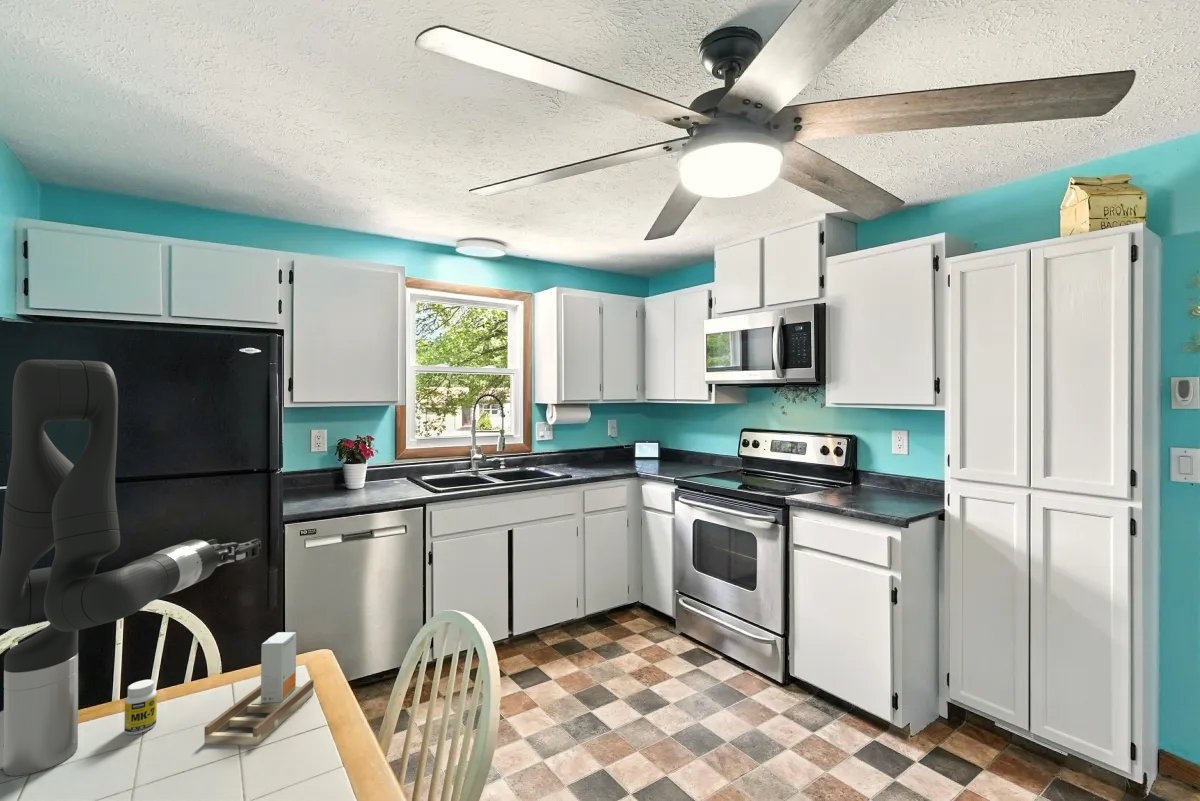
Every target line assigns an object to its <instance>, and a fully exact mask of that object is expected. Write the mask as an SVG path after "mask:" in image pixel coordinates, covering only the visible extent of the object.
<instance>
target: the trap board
mask: <svg viewBox="0 0 1200 801" xmlns="http://www.w3.org/2000/svg"><path fill="white" fill-rule="evenodd" d="M313 695H314V679H309V680H308V681H307V682H305V683H304V684H303V685H302V686H296V688H295V689H294V690H293V691H292V692H291V693H290V694H289V695H288V696H287V697H286V698H285V699H284V700H283V701H282V702H273V703H261V684H260V685H258V686H257V687H256V688H254V689H253V690H252V691H250V692H249V693H248V694H246V695H245V696H244V697H243V698H241V699H240V700H238V701H237V702H236V703H234V704H233V705H232V706H230V707H229V708H228V709H227V710H225V711H224V712H222V713H221V714H220V715H218V716H217V717H216V718H214V719H213V720H212V721H210V722H209V723H207V725H205V726H204V744H210V745H211V744H214V745H215V744H216V745H243V746H257V745H259V744H260V743H261V742H262V741H263V740H265V739H266V738H267V737H268V736H269V735H270V734H271V733H272V732H273V731H275V729H277V728H278V727H279V726H280V725H282V723H283V722H284V721H286V720H287V719H288V718H289V717H290V716H291V715H292V714H294V712H296V711H297V710H298V709H299V708H300V707H301V706H303V704H304V703H305V702H306V701H308V700H309V699H310V698H311V697H312V696H313ZM310 696H311V697H310ZM309 697H310V698H309ZM308 698H309V699H308ZM307 699H308V700H307Z"/></svg>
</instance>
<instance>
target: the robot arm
mask: <svg viewBox="0 0 1200 801" xmlns="http://www.w3.org/2000/svg"><path fill="white" fill-rule="evenodd" d="M118 391H119V390H118V384H117V378H116V375H115V373H114V370H113V369H112V367H111V366H110V365H109V364H108V363H106V362H104V361H99V360H97V361H96V360H76V359H73V360H70V359H29V360H24V361H22V362H21V363H20V364H19V365H18V366H17V368H16V371H15V373H14V378H13V384H12V397H11V398H12V402H11V403H12V404H11V405H12V410H11V411H12V413H11V414H12V418H11V419H12V420H11V421H12V423H11V424H12V428H11V429H12V431H11V433H12V434H11V439H12V440H11V444H12V445H11V455H10V456H11V458H10V463H9V469H8V474H7V475H8V476H7V483H6V489H5V494H4V503H3V504H4V505H3V516H2V518H3V519H2V521H3V522H2V537H1V538H2V542H1V552H0V629H4V630H8V629H9V630H10V629H17V628H18V629H19V628H23V627H26V626H32V625H36V624H42V623H46V622H48V623H49V624H48V626H46V627H45V628H43V630H41V631H40V632H37V633H36V634H34V635H33V636H32V637H29V638H27V639H25V640H24V641H22V642H19V643H17V644H16V645H13V646H12V647H11V648H10V649H8V650H7V651H6V653H5V655H4V659H3V669H4V670H3V688H4V689H3V710H1V711H0V770H3V773H4V774H5V775H7V776H15V777H16V776H23V775H24V776H25V775H29V774H34V773H37V772H40V771H43V770H47V769H50V768H52V767H54V766H56V765H58V764H61V763H62V762H64V761H66V760H68V759H69V758H70V757H72V756H73V755H74V754H75V753H76V752H77V750H78V748H79V746H78V745H79V742H78V741H79V736H78V735H79V734H78V733H79V732H78V731H79V730H78V729H79V631H80V630H85V629H89V628H94V627H97V626H100V625H103V624H104V625H105V624H109V623H112V622H116V621H119V620H122V619H124V618H126V617H129V616H132V615H133V614H135V613H137V612H140V611H141V610H142V609H143V608H145V607H146V606H147V605H149V603H151V602H153V601H155V600H158V599H161V598H163V597H165V596H167V595H170V594H174V593H177V592H179V591H182V590H184V589H186V588H188V587H191V586H192V585H195V584H197V583H199V582H201V581H203V580H206V579H208V578H209V577H210V576H211V575H212V574H213V572H214V571H215V569H216V568H217V567H220V566H222V565H224V564H229V563H234V565H241V564H243V563H246V562H248V561H250V560H252V559H253V560H254V559H256V558H257V557H259V553H260V552H259V550H260V549H261V548H262V541H261V539H260V538H254V539H252V540H249V541H246V542H243V543H238V542H228V543H222V544H220V543H218V539H216V538H212V539H209V540H202V539H190V540H189V539H188V540H187V541H184V542H181V543H178V544H176V545H172V546H169V547H166V548H164V549H159V551H156V552H154V553H152V554H150V555H148V556H145V557H141V558H139V559H136V560H134V561H131V562H129V563H127V564H126V565H124V566H122V567H121V568H117V569H113V570H111V571H106V572H102V573H98V574H96V571H97V568H98V564H99V563H100V562H101V560H102V559H104V558H105V557H108V556H110V555H111V554H113V553H115V552H116V551H117V550H118V549H119V548H120V545H121V533H120V532H121V531H120V523H119V514H118V508H117V507H118V506H117V500H116V498H117V497H116V495H117V494H116V464H117V462H116V461H117V447H118V419H119V418H118V416H119V414H118V413H119V410H118V409H119V394H118ZM76 421H77V422H79V421H80V422H81V421H87V422H88V423H89V428H88V429H89V431H88V439H87V441H86V444H85V447H84V449H83V450H82V453H81V454H80V456H79V457H78V459H77V461H76V462H75V464H74V463H72V462H71V460H69V459H68V458H67V457H66V456H65V455H64V454H63V453H61V451H60V450H59V449H58V448H57V447H56V446H55V444H53V442H52V441H51V439H50V438H49V436H48V434H47V433H46V431H45V426H46V424H47V423H50V422H51V423H52V422H53V423H54V422H76ZM53 548H55V553H54V558H53V561H52V564H51V566H49V567H43V568H42V567H41V568H35V569H34V566H35V565H36V564H37V563H38V562H39V560H40V559H42V558H43V557H44V556H45V555H46V554H47V553H48V552H49V551H51V550H52V549H53ZM228 548H231V553H230V551H229V549H228Z"/></svg>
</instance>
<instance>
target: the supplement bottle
mask: <svg viewBox="0 0 1200 801" xmlns="http://www.w3.org/2000/svg"><path fill="white" fill-rule="evenodd" d="M157 694H158V692H157V690H156V689H155V680H154V679H143V680H138V681H135V682H133V683H131V684H130V685H128V686H127V697H126V698H125V699H124V734H126V735H130V736H132V735H138V734H143V733H144V732H147V731H149V729H150V730H151V729H153V728H154V727H155V726H156V725H157V714H158V713H157V711H158V710H157V705H158V704H157V701H158V700H157V699H158V695H157ZM142 732H143V733H142Z"/></svg>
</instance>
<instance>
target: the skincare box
mask: <svg viewBox="0 0 1200 801" xmlns="http://www.w3.org/2000/svg"><path fill="white" fill-rule="evenodd" d="M260 653H261V655H260V656H261V660H260V662H261V663H260V664H261V667H260V669H261V670H260V671H261V672H260V675H261V676H260V685H261V703H273V702H282V701H283V700H284V699H285V698H286V697H287V696H288V695H289V694H290V693H291V692H292V691H293V690H294V689H295V688H296V687H297V685H296V684H297V683H296V682H297V681H296V680H297V632H296V631H295V632H294V631H288V632H287V631H286V632H284V631H281V632H280V631H279V632H276V633H275V634H273V635H272V636H270V637H268V639H266V640H265V641H264V642H263V643H261V652H260Z"/></svg>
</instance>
